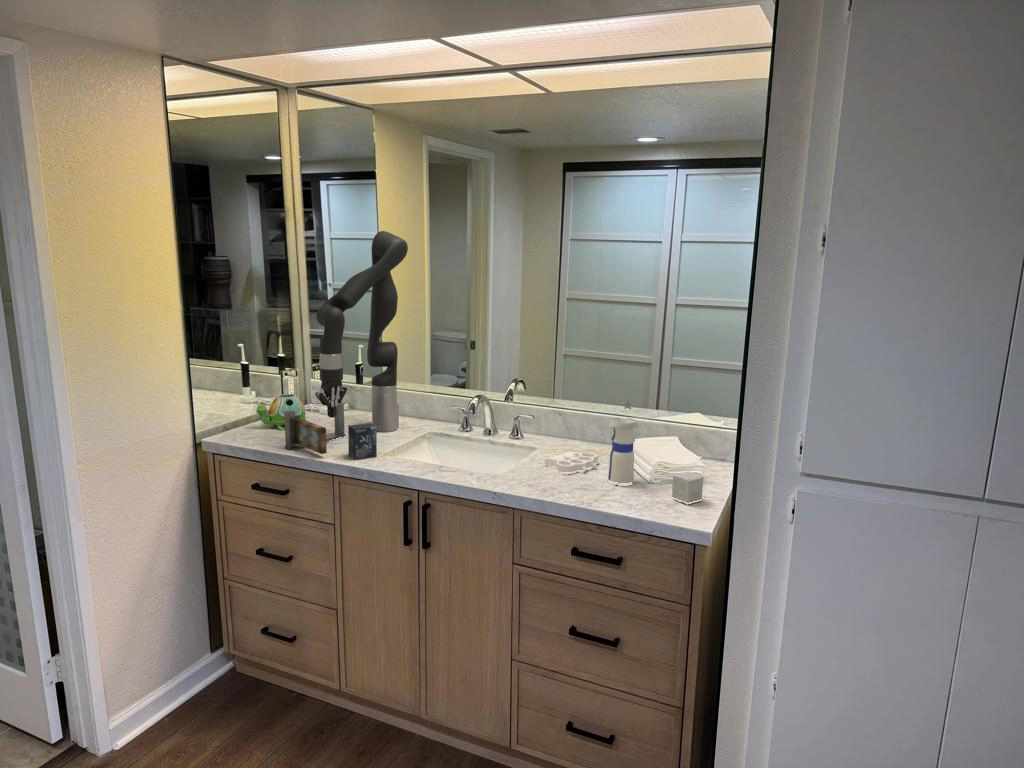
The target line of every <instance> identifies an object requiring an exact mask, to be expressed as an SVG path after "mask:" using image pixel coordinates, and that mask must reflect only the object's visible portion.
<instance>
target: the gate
mask: <svg viewBox="0 0 1024 768" xmlns="http://www.w3.org/2000/svg"><path fill="white" fill-rule="evenodd" d="M295 430H296V444H298V445H300V446H303V447H305V448H304V449H308V450H311V451H312V452H315V453H318V454H321V455H325V454H327V450H328V449H327V448H328V447H327V442H326V435H327V428H326V426H325V427H324V426H322V425H320V424H317V423H314V422H310V421H307V420H303V419H300V415H295Z"/></svg>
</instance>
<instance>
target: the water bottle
mask: <svg viewBox="0 0 1024 768" xmlns="http://www.w3.org/2000/svg"><path fill="white" fill-rule="evenodd" d="M622 404H623V405H624V410H625V409H629V410H632V408H631V406H632V405H634V403H633V402H631V401H630V400H629V398H628V399H627V400H626V401H623V402H622ZM609 427H610V428H613V435H612V437H611V438H610V440H611V441H612V442H611V444H612V445H611V451H610V452H609V453H610V455H609V466H608V477H607V480H608V479H609V480H610V481H613V482H618V483H630V482H633V480H634V478H635V475H634V471H635V469H634V467H635V466H634V465H635V453H634V443H635V441H636V440H635V438H634V431H635V430H634V429H636V428H638V424H637V420H635V418H631V417H628V418H626V420H625V422H619V420H618V418H616V417H612V418H611V419H610V422H609V425H608V428H609Z"/></svg>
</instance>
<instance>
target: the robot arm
mask: <svg viewBox="0 0 1024 768" xmlns="http://www.w3.org/2000/svg"><path fill="white" fill-rule="evenodd" d="M408 250H409V247H408V243H407V241H406V240H404V239H403V238H401V237H400V236H398V235H395V234H393V233H391V232H389V231H385V230H380V231H378V232H377V233H376V234H375V235H374V237H373V239H372V242H371V264H372V265H371V266H370V267H368V268H365V269H363V270H362V271H360V272H358V273H356V274H354V275H352V276H351V277H350V278H349V279H348V280H347V281H346V282H345V283H344V284H343V285H342V286H341V288H340V289H339V290H338V291H337V293H335V294H333V295H332V296H331V297H330V298H329V299H328V300H326V301H324V303H323V304H322V305H321V306H320V307H319V308H318V310H317V312H316V314H315V316H316V317H315V319H316V321H317V323H318V324H319V325H320V326H323V327H324V331H323V335H321V337H320V338H319V360H318V361H319V380H320V382H321V385H320V389H319V391H316V392H315V394H314V395H315V397H316V398H317V400H318V401H319V402H320V404H321V405H322V406H325V407H326V408H327V410H326V411H327V412H326V413H327V416H328V417H329V418H331V419H334V417H336V414H337V411H336V410H337V405H338V403H343V402H342V401H343V399H344V397H345V396H346V393H347V391H348V387H345V386H343V382H342V381H344V359H343V344H342V343H343V337H344V336H343V335H344V330H345V325H346V324H345V323H346V322H345V321H346V320H345V319H346V318H345V314H344V312H345V311H347V310H350V309H352V308H354V307H355V306H357V304H358V302H359V301H360V300H361V299H362V298H364V296H365V295H366V293H367V292H368V291H370V289H371V297H370V300H371V301H370V326H369V333H368V343H367V351H366V356H367V357H366V359H367V361H366V362H367V364H368V366H369V367H371V368H384V367H385V368H386V369H385V370H384V371H382V372H381V373H378V374H376V375H373V376H372V377H371V414H372V415H371V424H373V425H375V426H376V427H377V432H379V433H389V432H393V431H396V430H398V428H400V422H399V421H400V420H399V419H400V417H399V412H400V411H399V409H400V408H399V406H400V405H399V403H398V394H397V393H398V392H397V391H398V388H397V383H398V357H399V356H398V347H397V343H396V342H394V341H380V339H381V336H382V334H383V332H384V331H385V330H386V329H387V327H388V326H389V325H390V324H391V322H392V321H393V319H394V318H395V316H396V315H397V312H398V311H397V310H398V300H399V299H398V297H399V296H398V290H397V287H396V284H395V282H394V279H393V277H392V274H391V271H392V270H394V269H395V268H396V267H397V266H399V264H401V262H402V261H403V260H405V258H406V256H407V254H408Z"/></svg>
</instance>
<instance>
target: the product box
mask: <svg viewBox="0 0 1024 768" xmlns="http://www.w3.org/2000/svg"><path fill="white" fill-rule="evenodd" d="M703 486H704V477H703V476H700V475H698V474H695V473H692V472H689V471H684V472H680V473H676V474H673V475H672V487H671V491H672V492H671V498H672V497H674V498H677V499H679V500H682V501H685V502H687V503H689V502H693V501H697V500H700V499H702V500H703V491H704V490H703Z"/></svg>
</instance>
